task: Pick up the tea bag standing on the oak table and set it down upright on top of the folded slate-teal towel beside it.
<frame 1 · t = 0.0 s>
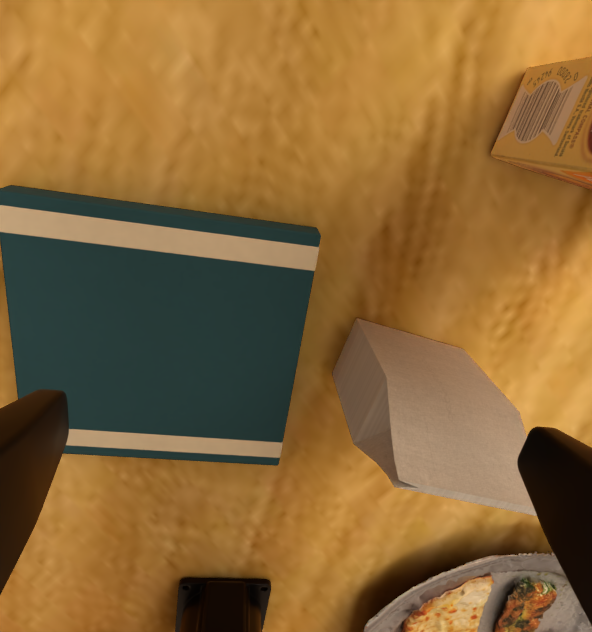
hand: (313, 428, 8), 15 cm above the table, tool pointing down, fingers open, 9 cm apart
candy box: (582, 137, 21), on the table
food plate: (479, 627, 38), on the table
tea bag: (396, 359, 26), on the table
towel: (165, 338, 24), on the table
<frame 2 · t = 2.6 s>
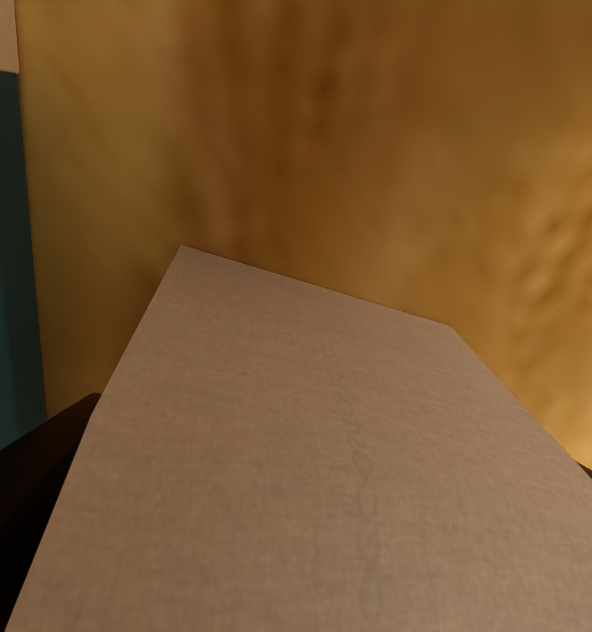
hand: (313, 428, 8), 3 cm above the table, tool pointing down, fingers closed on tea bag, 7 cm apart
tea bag: (297, 350, 11), on the table, touching gripper
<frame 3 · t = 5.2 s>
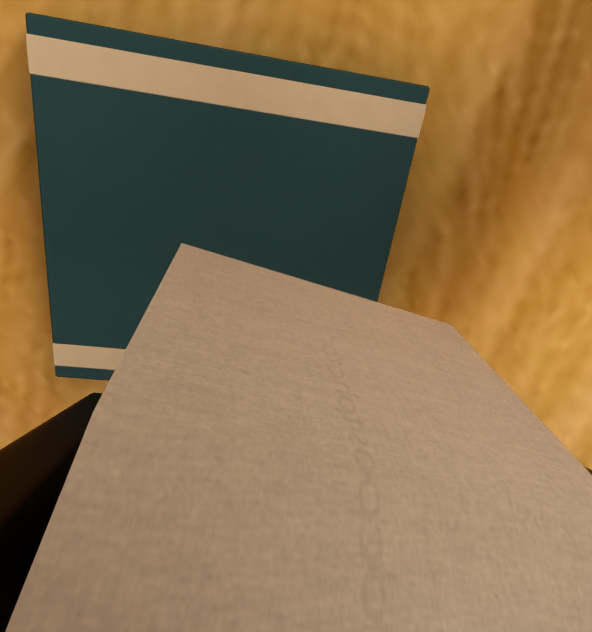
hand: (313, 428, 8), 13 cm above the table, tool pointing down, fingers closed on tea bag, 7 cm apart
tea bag: (298, 349, 11), point 10 cm above the table, touching gripper
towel: (225, 237, 19), on the table
when the fingers open (4 cm above the table, at t = 7.9 s): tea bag stays where it is, resting on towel.
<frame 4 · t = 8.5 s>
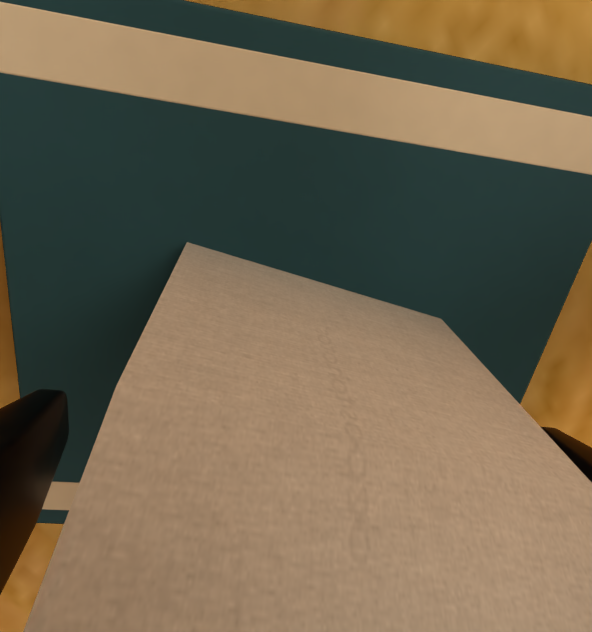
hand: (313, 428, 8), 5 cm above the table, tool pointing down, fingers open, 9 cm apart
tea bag: (297, 342, 12), point 1 cm above the table, touching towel
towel: (292, 320, 13), on the table
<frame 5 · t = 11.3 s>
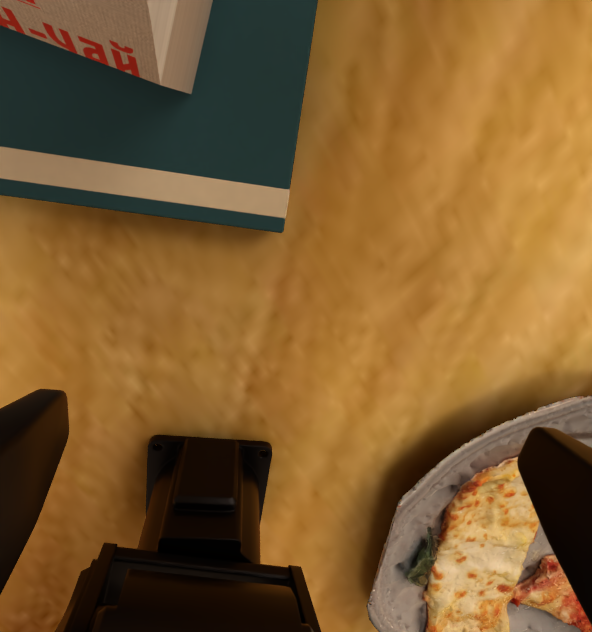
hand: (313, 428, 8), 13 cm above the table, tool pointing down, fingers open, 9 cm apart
food plate: (536, 529, 30), on the table
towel: (112, 2, 16), on the table
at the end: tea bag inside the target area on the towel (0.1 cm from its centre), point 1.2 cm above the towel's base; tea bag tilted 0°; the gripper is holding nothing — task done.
